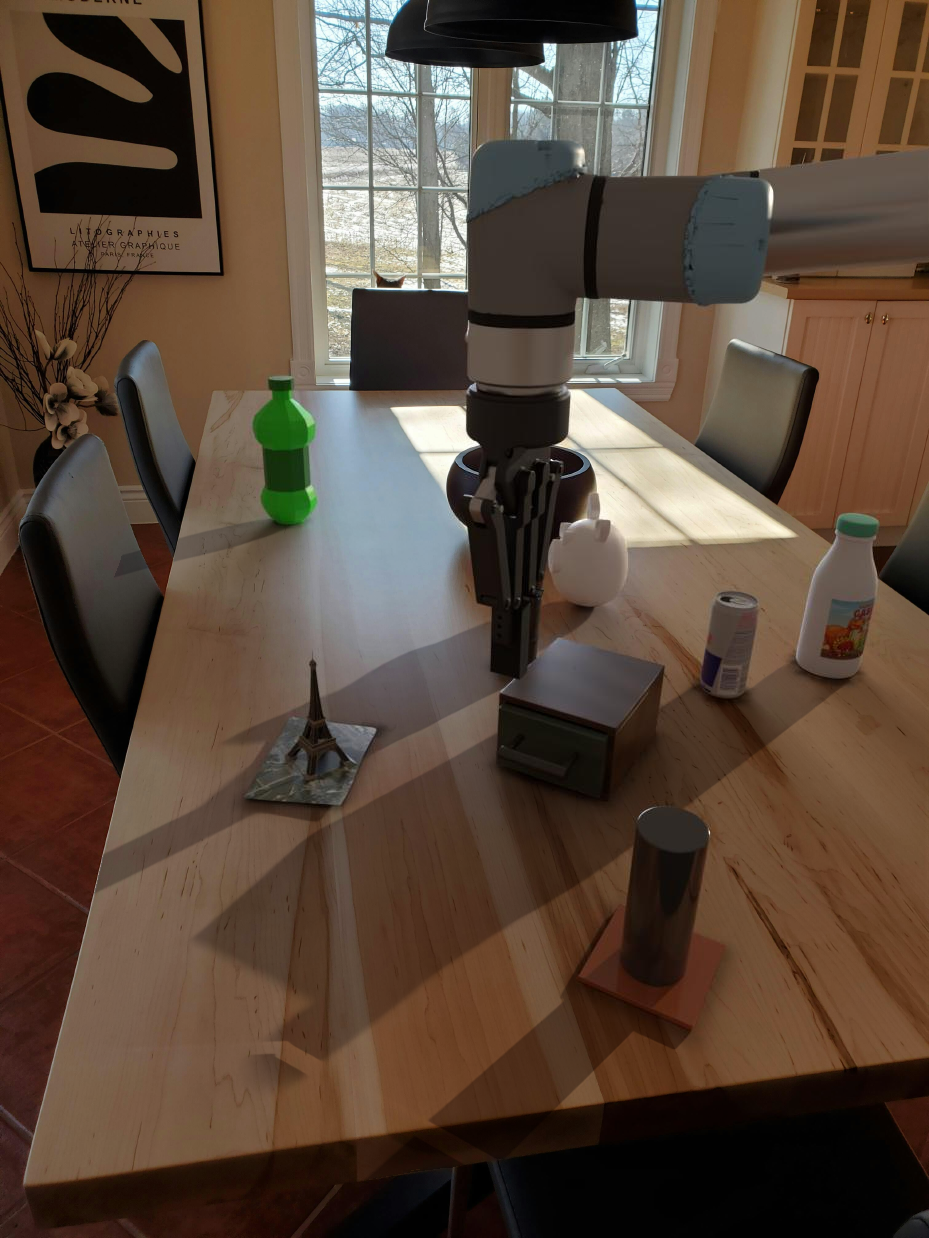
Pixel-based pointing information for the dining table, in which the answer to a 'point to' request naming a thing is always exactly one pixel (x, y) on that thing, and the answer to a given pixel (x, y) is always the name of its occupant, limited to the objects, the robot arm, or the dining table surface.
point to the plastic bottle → (285, 454)
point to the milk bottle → (840, 601)
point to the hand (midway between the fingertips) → (508, 671)
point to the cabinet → (595, 698)
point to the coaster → (663, 1001)
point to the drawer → (552, 749)
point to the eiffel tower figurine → (312, 758)
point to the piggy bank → (589, 559)
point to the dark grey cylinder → (663, 894)
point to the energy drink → (729, 644)
